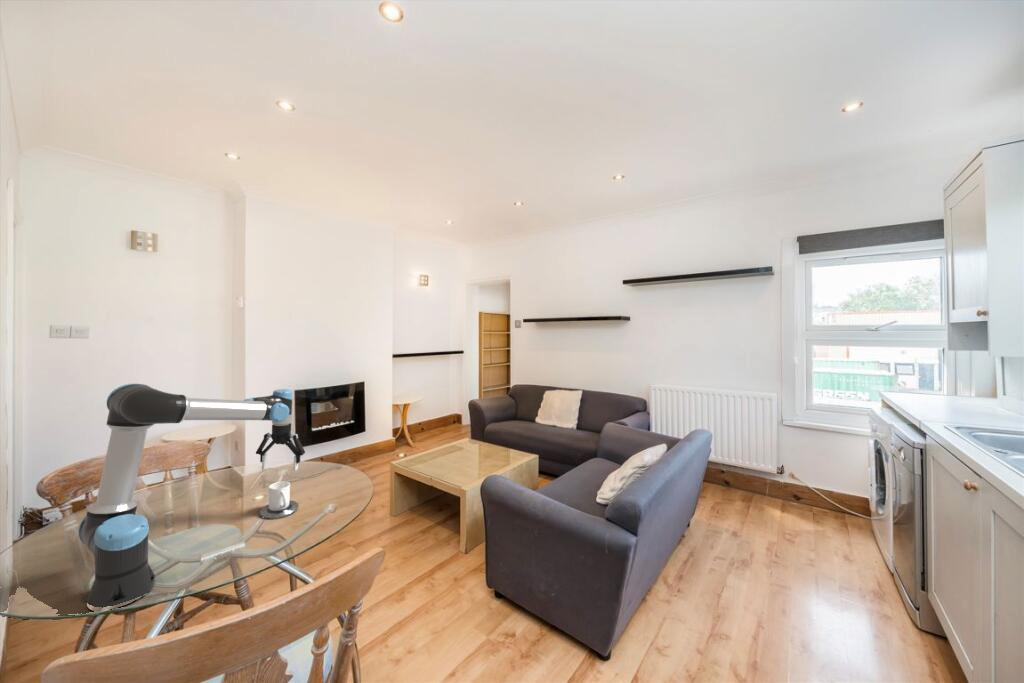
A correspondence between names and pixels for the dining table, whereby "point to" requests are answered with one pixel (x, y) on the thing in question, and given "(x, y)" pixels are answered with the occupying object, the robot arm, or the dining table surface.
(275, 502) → the mug
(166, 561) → the dining table surface
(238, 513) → the dining table surface
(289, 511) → the metal plate
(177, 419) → the robot arm
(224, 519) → the dining table surface
